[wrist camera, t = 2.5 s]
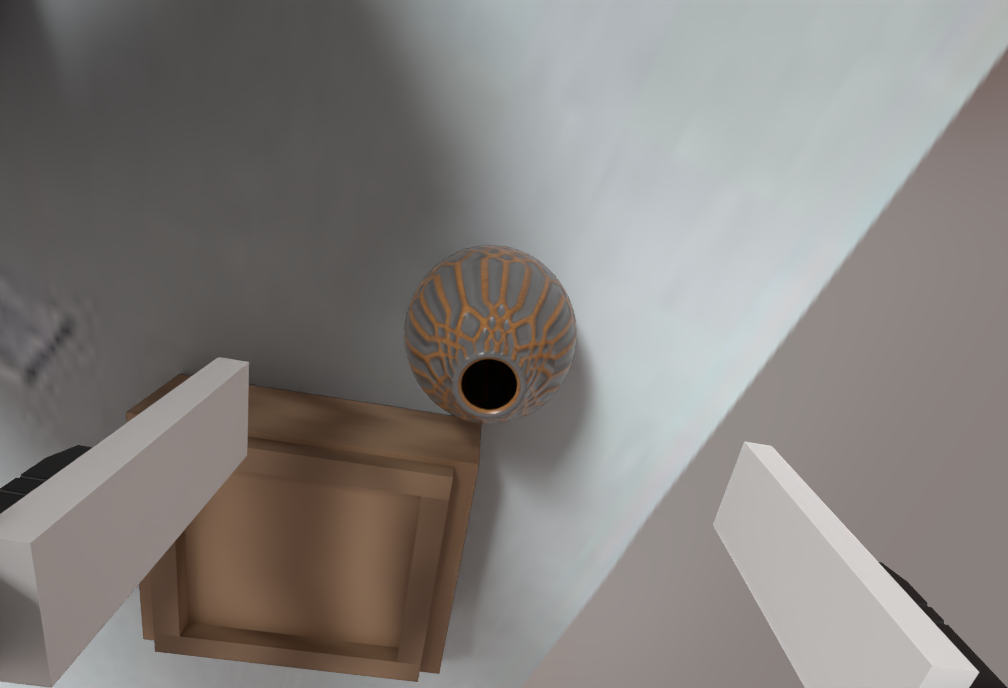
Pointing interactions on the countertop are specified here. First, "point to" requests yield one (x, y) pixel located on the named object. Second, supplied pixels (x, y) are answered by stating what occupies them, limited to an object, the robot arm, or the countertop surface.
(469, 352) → the vase
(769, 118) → the countertop surface
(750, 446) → the robot arm
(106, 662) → the countertop surface
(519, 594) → the countertop surface
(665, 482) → the countertop surface
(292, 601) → the brown wooden flat box
